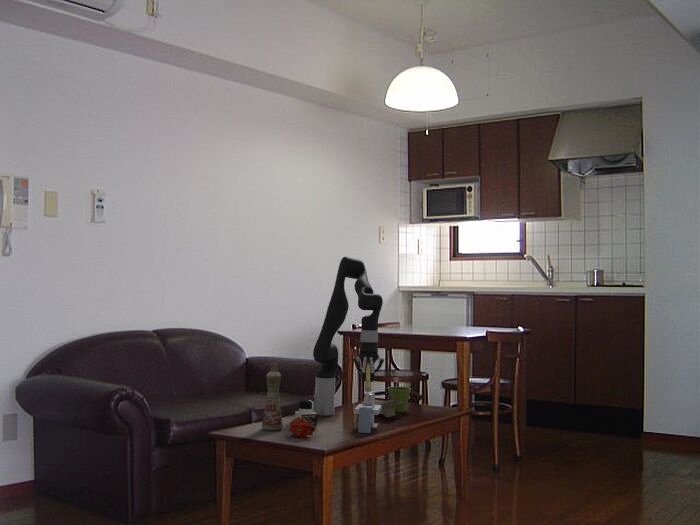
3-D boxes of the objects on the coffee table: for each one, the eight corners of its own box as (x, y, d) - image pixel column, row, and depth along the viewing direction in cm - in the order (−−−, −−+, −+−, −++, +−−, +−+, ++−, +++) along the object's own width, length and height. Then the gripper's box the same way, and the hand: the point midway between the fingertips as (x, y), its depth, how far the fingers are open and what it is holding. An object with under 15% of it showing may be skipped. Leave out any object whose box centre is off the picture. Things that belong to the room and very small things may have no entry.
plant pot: (381, 411, 391) (382, 387, 391) (396, 408, 400) (396, 385, 400) (401, 414, 384) (401, 390, 384) (415, 411, 393) (416, 388, 393)
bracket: (358, 432, 334) (359, 407, 334) (362, 427, 346) (362, 403, 346) (370, 433, 333) (371, 408, 334) (373, 428, 345) (374, 404, 346)
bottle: (286, 428, 338) (288, 361, 338) (276, 432, 330) (278, 363, 330) (268, 426, 341) (270, 360, 342) (257, 430, 333) (259, 362, 334)
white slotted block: (370, 428, 367) (394, 408, 362) (360, 412, 371) (384, 393, 367) (387, 429, 381) (410, 410, 376) (378, 413, 385) (401, 395, 380)
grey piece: (353, 430, 339) (354, 396, 339) (358, 424, 353) (359, 392, 353) (377, 431, 337) (378, 398, 337) (381, 425, 351) (382, 393, 352)
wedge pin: (365, 390, 344) (366, 360, 344) (371, 390, 343) (372, 360, 344) (364, 391, 341) (365, 360, 341) (370, 391, 341) (371, 360, 341)
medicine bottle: (301, 431, 334) (302, 402, 334) (294, 428, 340) (295, 399, 340) (316, 430, 337) (317, 401, 337) (309, 427, 343) (310, 398, 344)
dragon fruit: (288, 438, 326) (312, 446, 319) (280, 428, 320) (304, 437, 313) (298, 420, 329) (322, 428, 323) (290, 410, 323) (314, 418, 317)
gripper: (386, 340, 345) (385, 381, 345) (354, 339, 347) (353, 379, 347) (384, 342, 338) (383, 383, 338) (351, 340, 340) (350, 382, 340)
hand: (368, 381), depth 342 cm, fingers closed on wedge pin, 2 cm apart
